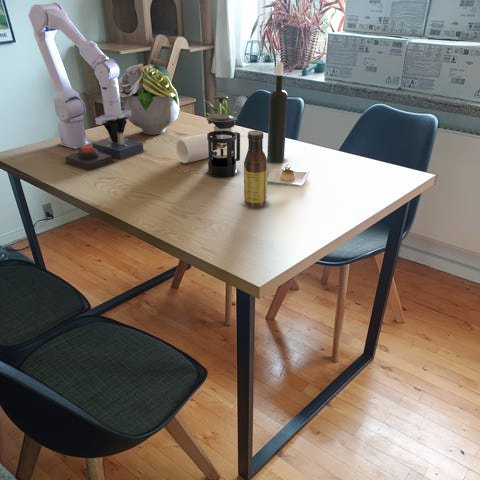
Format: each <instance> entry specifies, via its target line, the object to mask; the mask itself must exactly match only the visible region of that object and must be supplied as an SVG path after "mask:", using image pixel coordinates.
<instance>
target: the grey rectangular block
mask: <svg viewBox="0 0 480 480" xmlns="http://www.w3.org/2000/svg"><path fill="white" fill-rule="evenodd" d="M108 135H109V134H108ZM108 137H109V138H110V142H112V140H111V137H110V135H109V136H108ZM117 138H118V142H117V143H116V144H120V145H122V144H125V141H124V138H125V135H124V132H117ZM112 143H114V142H112Z"/></svg>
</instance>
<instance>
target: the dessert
mask: <svg viewBox="0 0 480 480" xmlns="http://www.w3.org/2000/svg"><path fill="white" fill-rule="evenodd" d="M309 175H310V170H309V171H308V170H300V169H299V170H298V169H293V168H292V166H290V165H289V164H286V165H284V167H283V168H278V167H272V169H271V170H270V172H269V173H268V174H267V183H269V184H277V185H284V186H293V187H294V186H295V187H300V186H304V185H305V183H306V181H307V179H308V177H309Z"/></svg>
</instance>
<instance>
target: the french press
mask: <svg viewBox="0 0 480 480" xmlns="http://www.w3.org/2000/svg"><path fill="white" fill-rule="evenodd" d="M213 99H214V100H217V99H219V102H220V105H221V114H217V115H213V114H210V115H211V116H210V115H207V116H208V117H207V116H206V117H207V118H206V120H207V124H208V125H211V124H213V126H214V125H215V126H216V127H218V128H219V129H221V130H219V131H214V130H213V131H209V132H208V133H206V134H207V140H208V151H209V158H208V162H207V174H208V175H209V176H211V177H214V178H220V179H221V178H223V179H224V178H225V179H226V178H231V177H234V176H235V175H237V173H238V171H237V162H240V161H241V133H240V132H238V131H232V132H231V131H224V130H222V129H227V128H232V129H233V128H234V127H235V126H236V123H235V121H236V120H237V117H236V116H234V115H233V114H231V115H228V114H222V106H223V104H222V103H223V102H224V99H225V100H227V99H229V97H228V96H227V95H215V96H213ZM217 135H221V139H218V138H217ZM222 135H230V136H231V138H225V139H222ZM217 143H221V145H220V148H218V144H217ZM222 143H227V144H226V148H223V145H222Z"/></svg>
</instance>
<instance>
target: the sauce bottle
mask: <svg viewBox="0 0 480 480" xmlns="http://www.w3.org/2000/svg"><path fill="white" fill-rule="evenodd" d="M247 139H248V143H247V144H248V148H247V152H246V156H245V158H244V161H243V192H244V193H243V196H244V197H243V198H244V204H245V205H246V206H247V207H250V208H254V209H258V208H262V207H265V206H266V204H267V199H268V197H267V193H268V182H267V177H268V166H267V164H268V161H267V155H266V153H265V152H264V151H263V148H264V147H263V145H264V143H263V142H264V141H263V139H264V132H263V131H262V130H255V129H254V130H249V131H248V132H247Z"/></svg>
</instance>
